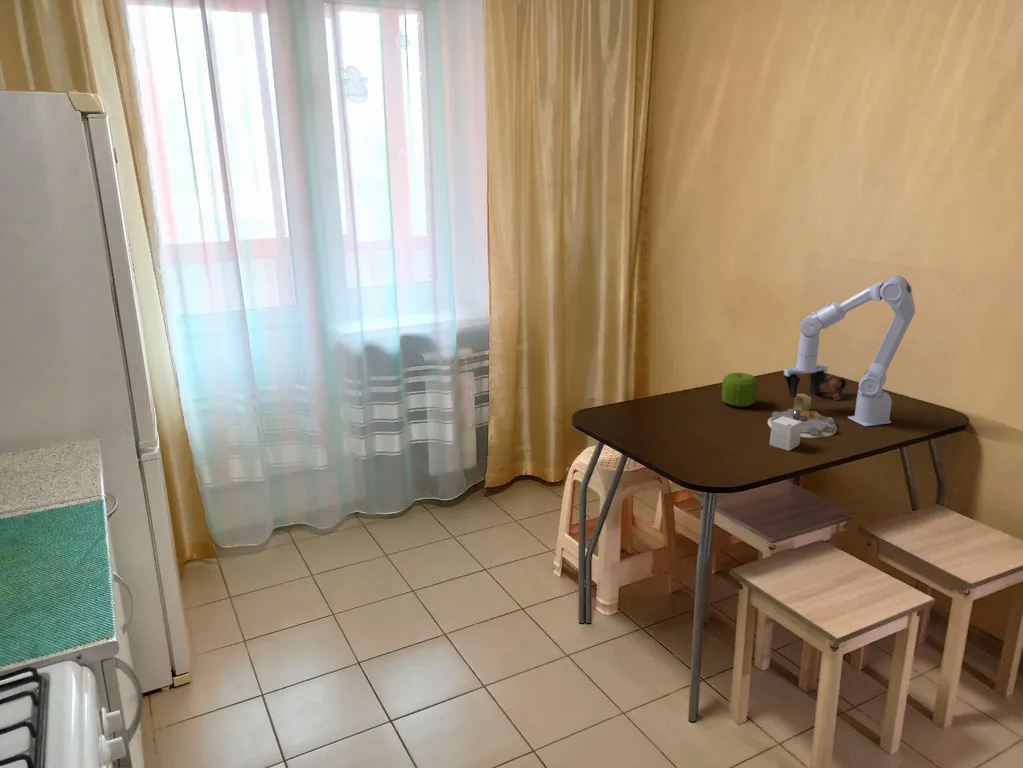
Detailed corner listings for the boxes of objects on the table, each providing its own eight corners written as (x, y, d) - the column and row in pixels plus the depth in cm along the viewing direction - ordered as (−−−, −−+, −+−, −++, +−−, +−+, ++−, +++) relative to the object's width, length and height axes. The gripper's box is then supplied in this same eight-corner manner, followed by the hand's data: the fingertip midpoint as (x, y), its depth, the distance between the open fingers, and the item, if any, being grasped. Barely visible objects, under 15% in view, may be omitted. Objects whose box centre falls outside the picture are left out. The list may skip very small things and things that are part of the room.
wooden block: (793, 409, 239) (795, 394, 237) (801, 408, 240) (803, 393, 238) (801, 413, 235) (803, 398, 234) (809, 412, 236) (811, 397, 234)
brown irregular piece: (830, 404, 244) (819, 381, 244) (812, 408, 253) (802, 386, 253) (858, 390, 247) (847, 368, 247) (839, 394, 256) (829, 373, 256)
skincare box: (779, 439, 215) (782, 415, 213) (799, 445, 211) (802, 420, 208) (768, 445, 211) (771, 420, 209) (789, 451, 207) (791, 426, 205)
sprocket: (786, 409, 237) (787, 392, 235) (843, 422, 225) (846, 405, 223) (760, 424, 224) (761, 407, 222) (819, 439, 212) (821, 421, 211)
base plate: (808, 411, 236) (808, 410, 236) (851, 433, 218) (852, 432, 218) (754, 418, 231) (754, 417, 231) (794, 441, 213) (794, 440, 213)
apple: (723, 409, 239) (725, 377, 236) (718, 398, 250) (720, 367, 246) (759, 410, 238) (762, 378, 235) (752, 399, 248) (755, 368, 245)
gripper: (818, 348, 237) (814, 389, 241) (779, 352, 233) (775, 393, 238) (834, 354, 231) (828, 395, 235) (793, 358, 227) (789, 400, 231)
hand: (802, 395), depth 236 cm, fingers open, 7 cm apart
